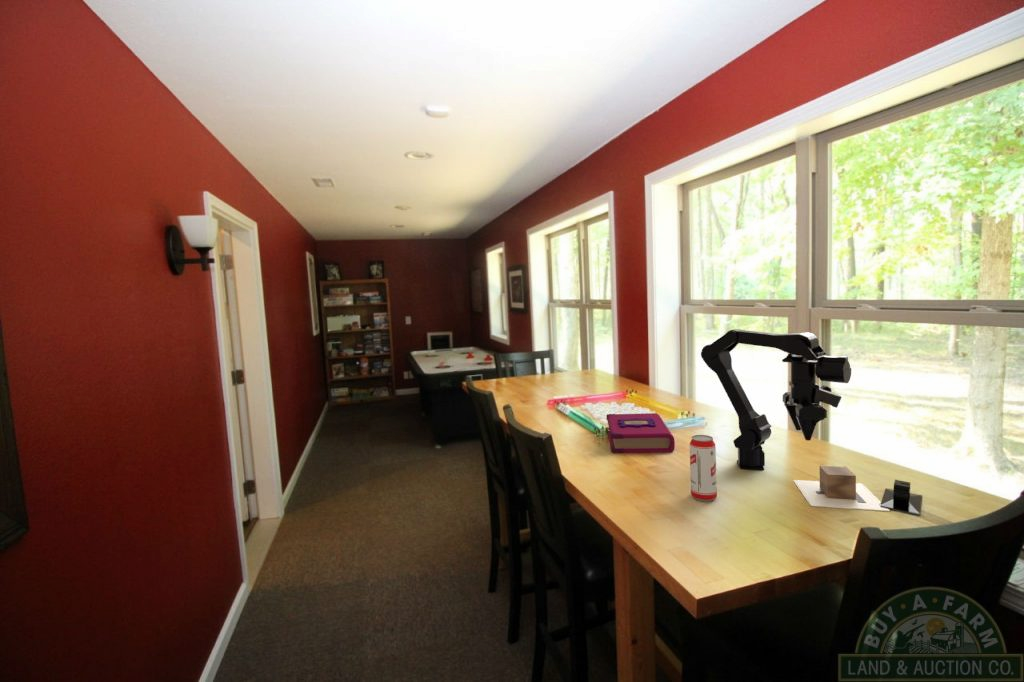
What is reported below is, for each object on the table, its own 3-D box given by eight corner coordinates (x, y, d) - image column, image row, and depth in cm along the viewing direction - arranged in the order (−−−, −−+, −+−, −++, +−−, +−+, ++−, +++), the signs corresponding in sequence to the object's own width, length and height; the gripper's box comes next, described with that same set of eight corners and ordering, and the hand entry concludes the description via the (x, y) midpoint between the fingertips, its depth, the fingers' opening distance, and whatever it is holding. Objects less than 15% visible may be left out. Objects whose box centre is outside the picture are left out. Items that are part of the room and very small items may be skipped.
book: (660, 430, 183) (660, 411, 182) (675, 454, 156) (674, 431, 155) (606, 431, 186) (605, 412, 186) (611, 454, 159) (610, 433, 158)
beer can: (715, 493, 123) (714, 434, 121) (718, 503, 117) (716, 442, 115) (690, 491, 125) (688, 433, 123) (691, 501, 119) (689, 440, 118)
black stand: (919, 515, 105) (920, 496, 104) (878, 507, 110) (879, 488, 109) (922, 496, 114) (922, 478, 113) (884, 489, 119) (884, 471, 118)
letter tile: (810, 506, 112) (810, 504, 112) (792, 480, 128) (792, 479, 128) (890, 511, 108) (890, 510, 107) (861, 484, 123) (861, 483, 123)
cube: (827, 497, 116) (827, 474, 115) (819, 488, 121) (819, 465, 121) (855, 499, 114) (855, 475, 113) (846, 489, 119) (846, 467, 119)
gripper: (851, 386, 114) (850, 447, 116) (826, 373, 132) (825, 426, 134) (799, 385, 118) (799, 445, 120) (782, 373, 136) (782, 425, 137)
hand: (803, 435), depth 127 cm, fingers open, 9 cm apart
